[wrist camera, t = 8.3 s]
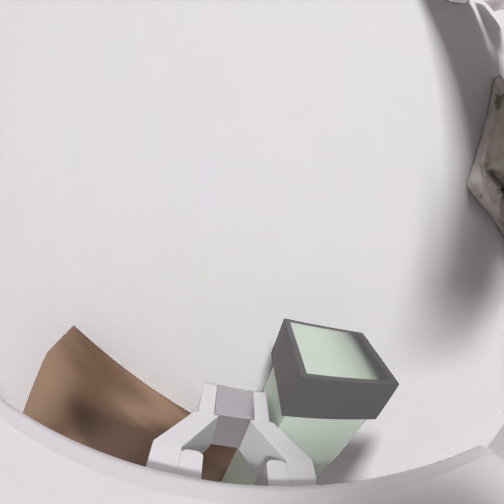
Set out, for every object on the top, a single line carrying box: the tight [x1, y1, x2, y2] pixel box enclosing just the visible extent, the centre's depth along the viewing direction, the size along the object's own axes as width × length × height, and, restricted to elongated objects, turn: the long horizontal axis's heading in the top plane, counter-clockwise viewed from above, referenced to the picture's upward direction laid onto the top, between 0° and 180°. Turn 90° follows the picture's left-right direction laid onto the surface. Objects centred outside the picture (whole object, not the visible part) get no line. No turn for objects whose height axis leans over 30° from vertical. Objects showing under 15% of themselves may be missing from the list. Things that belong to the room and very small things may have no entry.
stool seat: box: [23, 326, 237, 482], centre depth 15 cm, size 18×18×3 cm
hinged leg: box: [221, 319, 399, 485], centre depth 10 cm, size 16×3×3 cm, turn 165°
